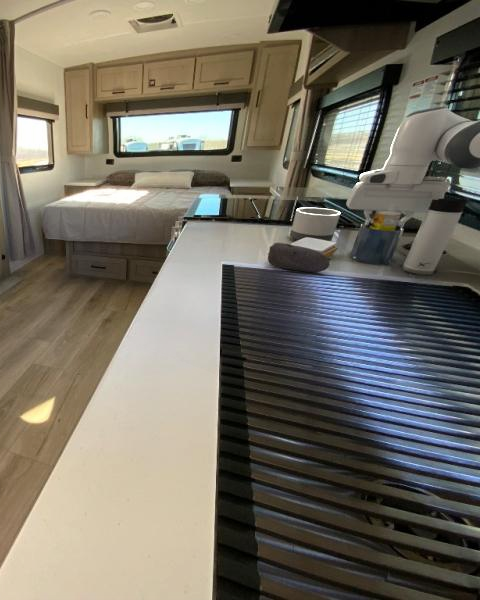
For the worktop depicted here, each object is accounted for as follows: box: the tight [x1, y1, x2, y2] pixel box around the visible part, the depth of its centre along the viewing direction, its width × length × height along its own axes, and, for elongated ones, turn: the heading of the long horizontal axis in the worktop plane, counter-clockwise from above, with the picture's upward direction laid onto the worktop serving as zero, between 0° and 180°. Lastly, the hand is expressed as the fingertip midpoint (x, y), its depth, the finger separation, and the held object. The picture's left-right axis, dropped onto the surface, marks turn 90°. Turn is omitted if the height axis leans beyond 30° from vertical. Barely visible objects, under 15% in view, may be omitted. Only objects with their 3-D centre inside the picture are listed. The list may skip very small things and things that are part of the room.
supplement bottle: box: [370, 204, 402, 231], centre depth 96 cm, size 6×6×10 cm
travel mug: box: [401, 198, 471, 276], centre depth 87 cm, size 6×7×20 cm
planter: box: [289, 207, 342, 242], centre depth 117 cm, size 13×13×10 cm
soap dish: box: [290, 237, 339, 259], centre depth 102 cm, size 12×10×5 cm
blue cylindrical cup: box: [349, 222, 405, 266], centre depth 99 cm, size 10×10×10 cm
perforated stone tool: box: [267, 242, 331, 273], centre depth 93 cm, size 15×5×7 cm, turn 52°
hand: (382, 226), depth 96 cm, fingers closed on supplement bottle, 5 cm apart
